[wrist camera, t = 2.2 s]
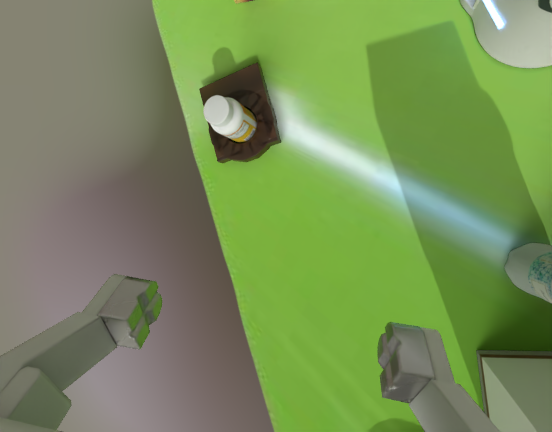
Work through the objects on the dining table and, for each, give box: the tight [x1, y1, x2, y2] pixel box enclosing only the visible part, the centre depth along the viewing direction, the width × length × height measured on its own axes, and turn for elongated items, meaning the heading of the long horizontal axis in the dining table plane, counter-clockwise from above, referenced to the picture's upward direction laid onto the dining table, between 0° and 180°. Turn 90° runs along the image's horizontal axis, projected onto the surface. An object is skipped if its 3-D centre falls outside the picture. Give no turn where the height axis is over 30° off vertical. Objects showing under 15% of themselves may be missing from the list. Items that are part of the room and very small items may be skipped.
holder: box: [199, 63, 281, 163], centre depth 49 cm, size 14×11×2 cm
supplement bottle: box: [204, 95, 258, 143], centre depth 45 cm, size 5×5×10 cm
